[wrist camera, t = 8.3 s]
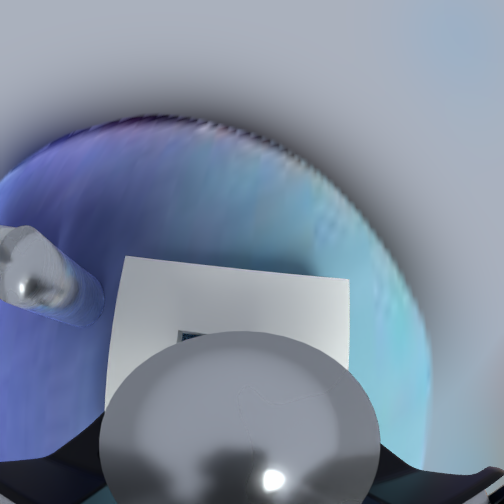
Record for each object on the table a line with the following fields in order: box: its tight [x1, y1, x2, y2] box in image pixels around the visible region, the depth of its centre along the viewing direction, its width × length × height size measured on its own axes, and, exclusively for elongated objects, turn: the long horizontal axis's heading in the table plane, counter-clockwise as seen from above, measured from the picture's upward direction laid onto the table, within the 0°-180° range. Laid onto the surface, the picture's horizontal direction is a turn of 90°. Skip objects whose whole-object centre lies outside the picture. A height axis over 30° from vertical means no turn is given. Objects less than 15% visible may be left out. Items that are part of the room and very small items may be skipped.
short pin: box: [0, 226, 105, 327], centre depth 14 cm, size 4×4×8 cm
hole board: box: [105, 256, 350, 411], centre depth 15 cm, size 13×13×4 cm
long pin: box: [99, 331, 380, 504], centre depth 9 cm, size 4×4×13 cm
